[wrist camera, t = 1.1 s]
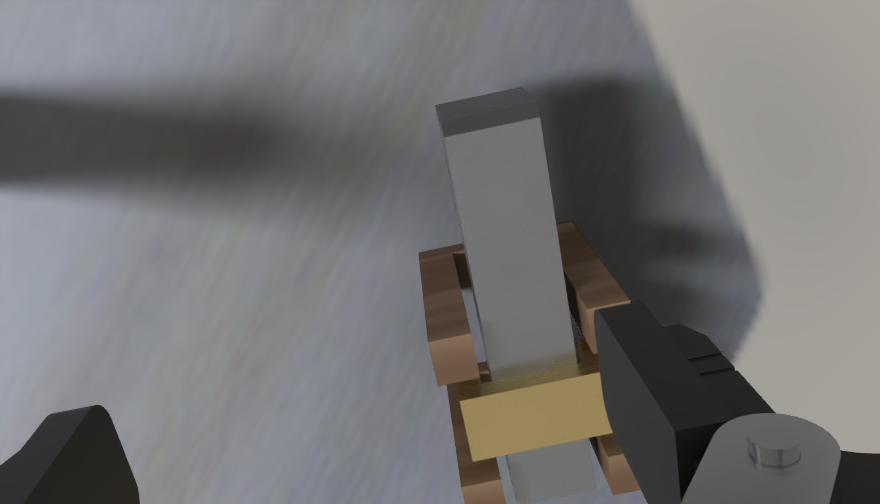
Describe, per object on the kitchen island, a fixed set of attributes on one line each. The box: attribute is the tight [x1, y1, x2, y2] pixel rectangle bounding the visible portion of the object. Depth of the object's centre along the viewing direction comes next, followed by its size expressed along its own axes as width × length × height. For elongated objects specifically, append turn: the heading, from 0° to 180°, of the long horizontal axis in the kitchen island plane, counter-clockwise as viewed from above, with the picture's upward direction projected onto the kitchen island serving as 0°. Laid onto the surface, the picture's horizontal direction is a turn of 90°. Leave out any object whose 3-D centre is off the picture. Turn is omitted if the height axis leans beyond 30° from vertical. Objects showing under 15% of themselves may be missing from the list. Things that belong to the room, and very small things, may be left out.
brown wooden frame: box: [419, 221, 641, 504], centre depth 35 cm, size 9×8×10 cm
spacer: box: [458, 338, 613, 462], centre depth 32 cm, size 3×7×3 cm, turn 102°
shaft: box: [435, 87, 596, 504], centre depth 32 cm, size 18×4×4 cm, turn 12°
